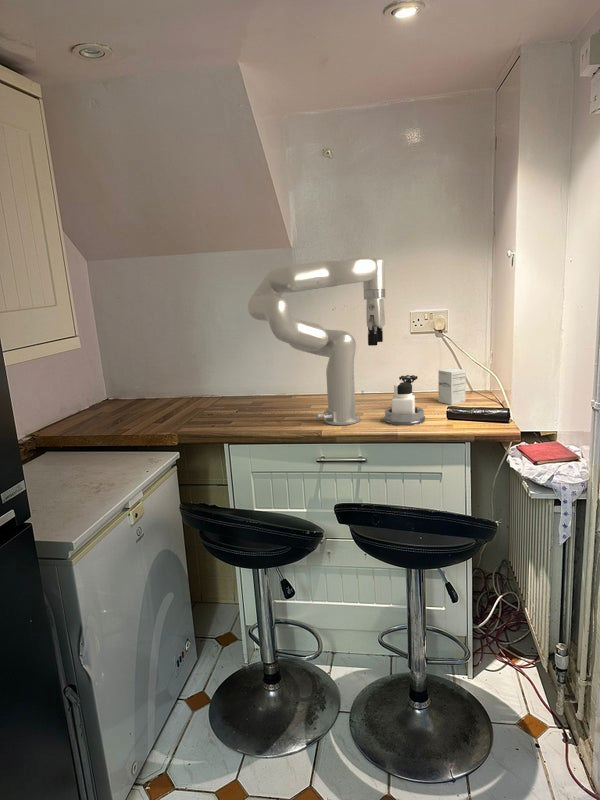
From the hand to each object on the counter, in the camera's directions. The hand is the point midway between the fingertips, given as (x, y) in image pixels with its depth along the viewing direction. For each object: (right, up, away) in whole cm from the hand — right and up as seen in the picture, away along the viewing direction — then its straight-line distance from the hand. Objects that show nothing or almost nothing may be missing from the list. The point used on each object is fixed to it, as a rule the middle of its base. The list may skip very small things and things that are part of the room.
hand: (375, 343), depth 204 cm
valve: (+14, -23, +10) cm, 29 cm away
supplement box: (+31, -21, +15) cm, 40 cm away
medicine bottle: (+9, -26, -7) cm, 29 cm away
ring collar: (+9, -27, -7) cm, 29 cm away
